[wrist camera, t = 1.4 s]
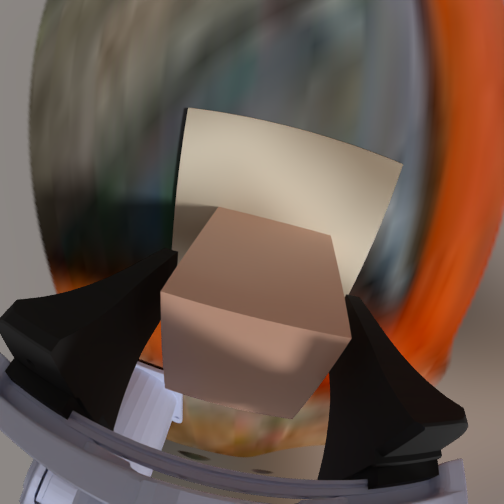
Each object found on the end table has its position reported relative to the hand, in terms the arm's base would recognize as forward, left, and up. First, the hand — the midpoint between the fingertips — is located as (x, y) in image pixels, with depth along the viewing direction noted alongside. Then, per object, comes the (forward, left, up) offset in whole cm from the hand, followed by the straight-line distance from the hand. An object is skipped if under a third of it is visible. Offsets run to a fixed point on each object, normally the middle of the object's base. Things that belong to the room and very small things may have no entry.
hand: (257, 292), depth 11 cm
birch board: (0, 0, -2) cm, 2 cm away
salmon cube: (0, 0, -2) cm, 2 cm away
